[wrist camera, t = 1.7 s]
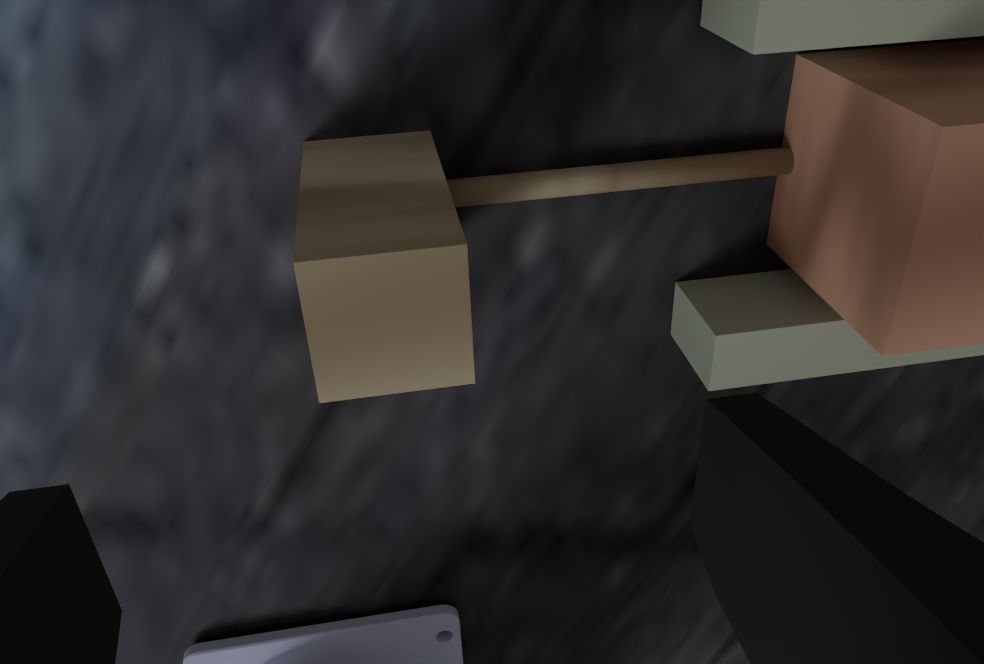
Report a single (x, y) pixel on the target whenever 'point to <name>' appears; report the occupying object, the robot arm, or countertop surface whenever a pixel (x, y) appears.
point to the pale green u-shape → (783, 293)
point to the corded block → (796, 205)
